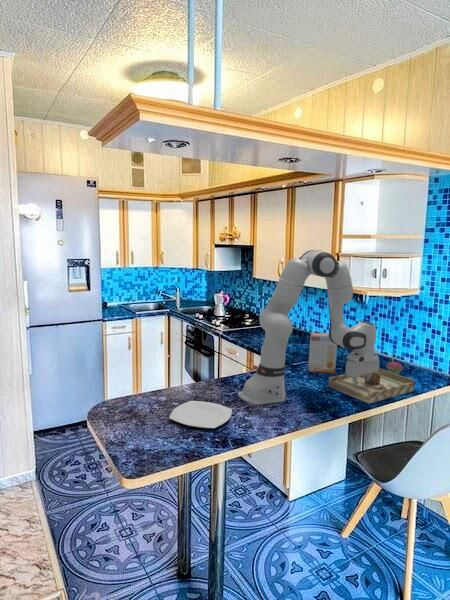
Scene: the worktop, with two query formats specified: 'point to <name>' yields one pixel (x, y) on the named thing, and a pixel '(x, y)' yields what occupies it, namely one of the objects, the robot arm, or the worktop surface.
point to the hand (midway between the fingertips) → (361, 382)
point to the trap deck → (369, 394)
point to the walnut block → (374, 379)
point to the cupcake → (394, 367)
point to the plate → (201, 414)
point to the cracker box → (322, 353)
